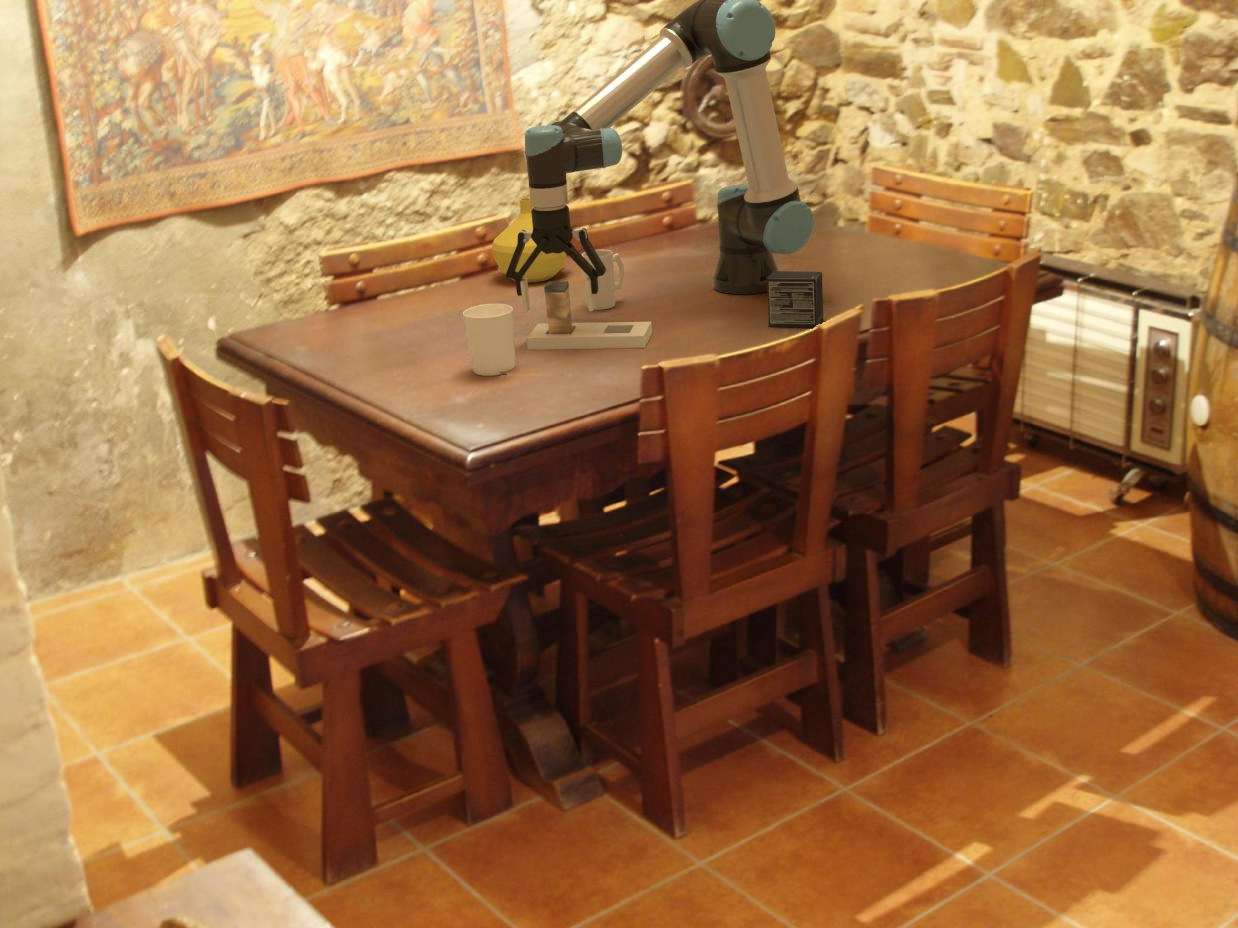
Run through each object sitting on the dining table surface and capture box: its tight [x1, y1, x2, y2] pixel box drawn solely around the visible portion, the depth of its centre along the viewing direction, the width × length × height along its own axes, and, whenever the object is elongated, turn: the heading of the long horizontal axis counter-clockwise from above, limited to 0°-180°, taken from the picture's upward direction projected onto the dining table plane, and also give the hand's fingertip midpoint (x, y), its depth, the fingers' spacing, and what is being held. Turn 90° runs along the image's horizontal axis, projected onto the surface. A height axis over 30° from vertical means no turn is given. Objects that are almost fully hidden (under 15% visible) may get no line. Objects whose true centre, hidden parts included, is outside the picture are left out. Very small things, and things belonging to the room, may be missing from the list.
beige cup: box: [462, 303, 516, 377], centre depth 278 cm, size 10×10×12 cm
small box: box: [766, 270, 824, 329], centre depth 293 cm, size 11×6×10 cm, turn 71°
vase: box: [491, 197, 568, 284], centre depth 342 cm, size 18×18×19 cm
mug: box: [581, 249, 625, 311], centre depth 316 cm, size 10×7×12 cm, turn 125°
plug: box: [544, 280, 573, 334], centre depth 290 cm, size 4×4×12 cm
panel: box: [526, 321, 653, 351], centre depth 291 cm, size 24×10×3 cm, turn 80°
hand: (559, 310), depth 290 cm, fingers open, 13 cm apart
